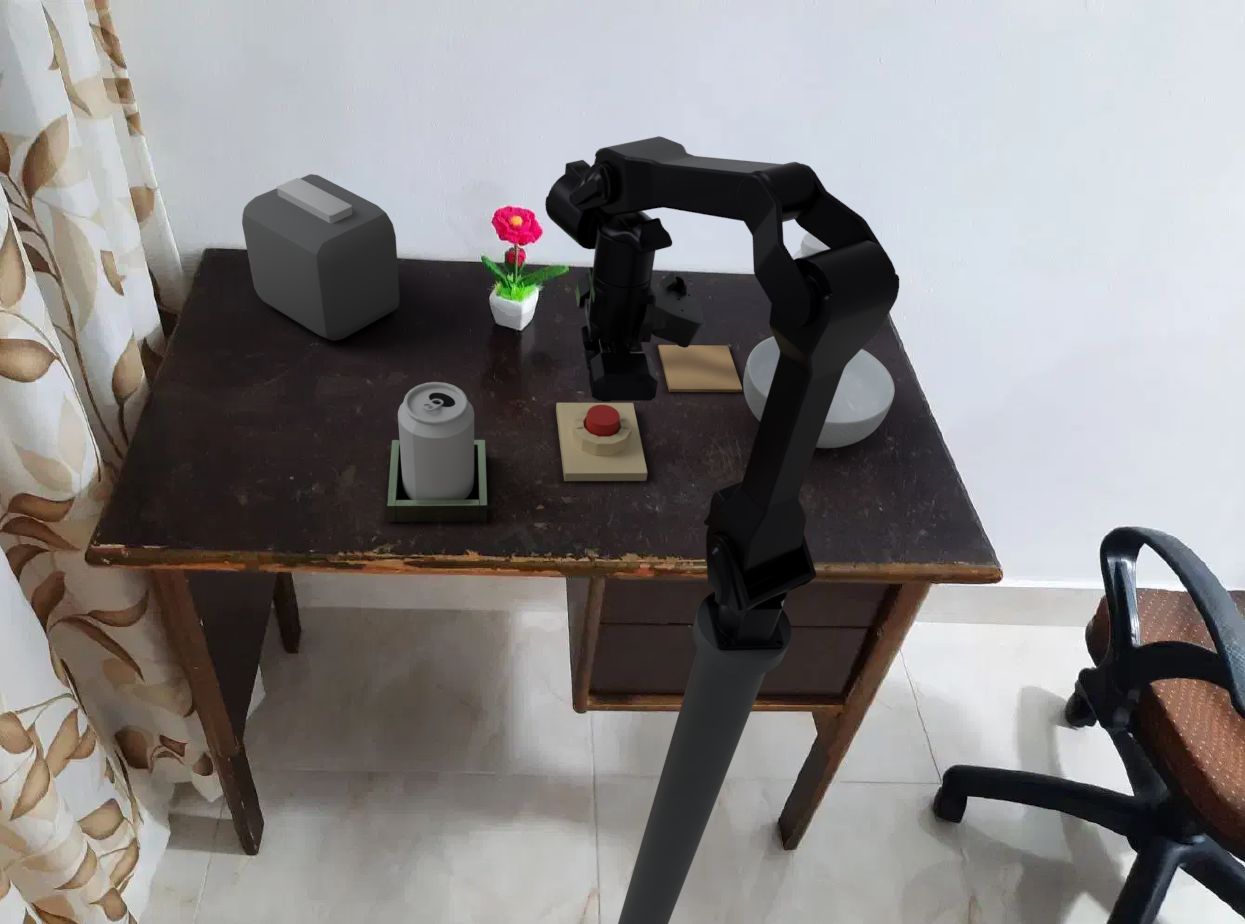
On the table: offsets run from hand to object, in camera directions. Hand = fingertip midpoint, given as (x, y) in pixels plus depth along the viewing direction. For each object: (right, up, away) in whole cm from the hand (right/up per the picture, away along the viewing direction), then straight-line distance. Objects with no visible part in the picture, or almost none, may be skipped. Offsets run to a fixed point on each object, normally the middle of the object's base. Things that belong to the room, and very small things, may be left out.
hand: (605, 399), depth 102 cm
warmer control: (0, -5, +5) cm, 6 cm away
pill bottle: (+28, +14, +25) cm, 40 cm away
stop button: (0, -3, +3) cm, 4 cm away
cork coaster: (+13, +6, +16) cm, 21 cm away
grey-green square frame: (-18, -10, -2) cm, 20 cm away
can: (-18, -10, -2) cm, 20 cm away
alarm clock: (-35, +14, +20) cm, 43 cm away
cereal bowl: (+24, -2, +10) cm, 26 cm away
